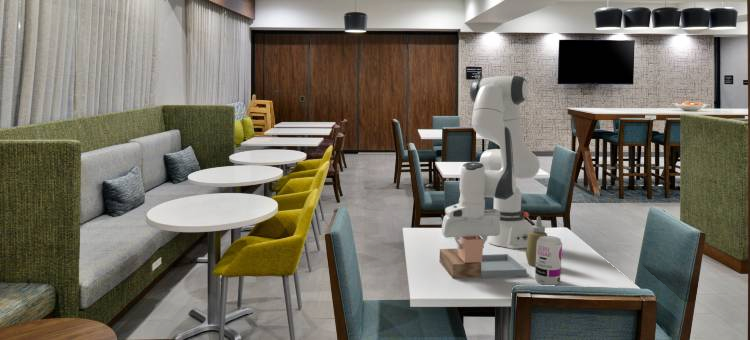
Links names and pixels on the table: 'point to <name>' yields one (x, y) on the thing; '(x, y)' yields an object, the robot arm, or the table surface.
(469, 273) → the wooden block
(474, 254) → the sleeve
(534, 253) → the squeeze bottle
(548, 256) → the supplement can
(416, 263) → the table surface
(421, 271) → the table surface
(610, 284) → the table surface
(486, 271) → the tray
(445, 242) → the table surface
